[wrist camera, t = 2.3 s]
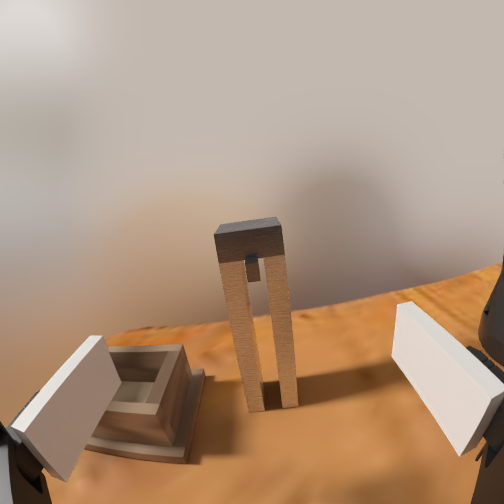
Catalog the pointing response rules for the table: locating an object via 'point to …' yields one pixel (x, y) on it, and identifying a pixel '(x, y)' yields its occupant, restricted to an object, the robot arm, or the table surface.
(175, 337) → the table surface
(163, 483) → the table surface
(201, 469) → the table surface
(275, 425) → the table surface
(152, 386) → the box
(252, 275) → the steel tongs
